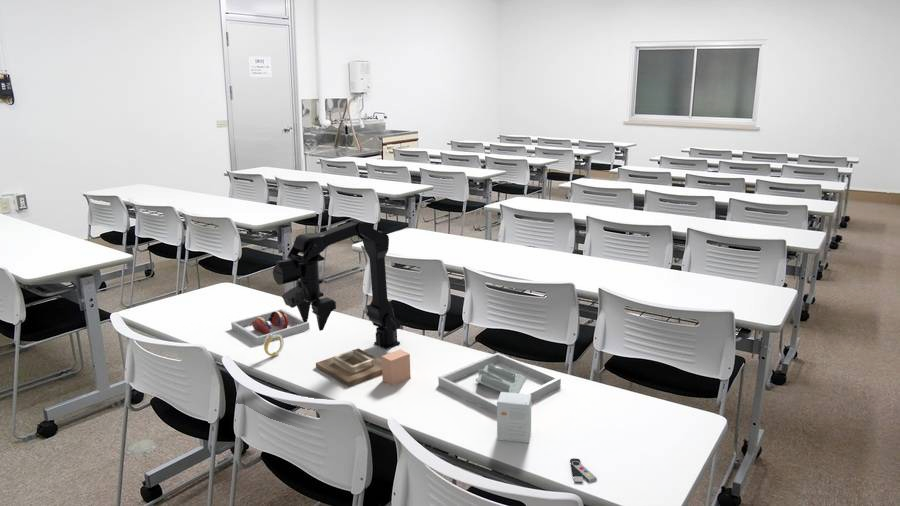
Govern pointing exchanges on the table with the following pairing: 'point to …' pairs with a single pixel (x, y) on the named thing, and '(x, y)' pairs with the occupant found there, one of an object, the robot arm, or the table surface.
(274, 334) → the ring
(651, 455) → the table surface
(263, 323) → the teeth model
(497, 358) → the bracket rim
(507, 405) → the small box
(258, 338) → the jewellery tray
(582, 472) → the usb flash drive
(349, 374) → the socket board
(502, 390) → the metal bracket
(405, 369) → the key block
